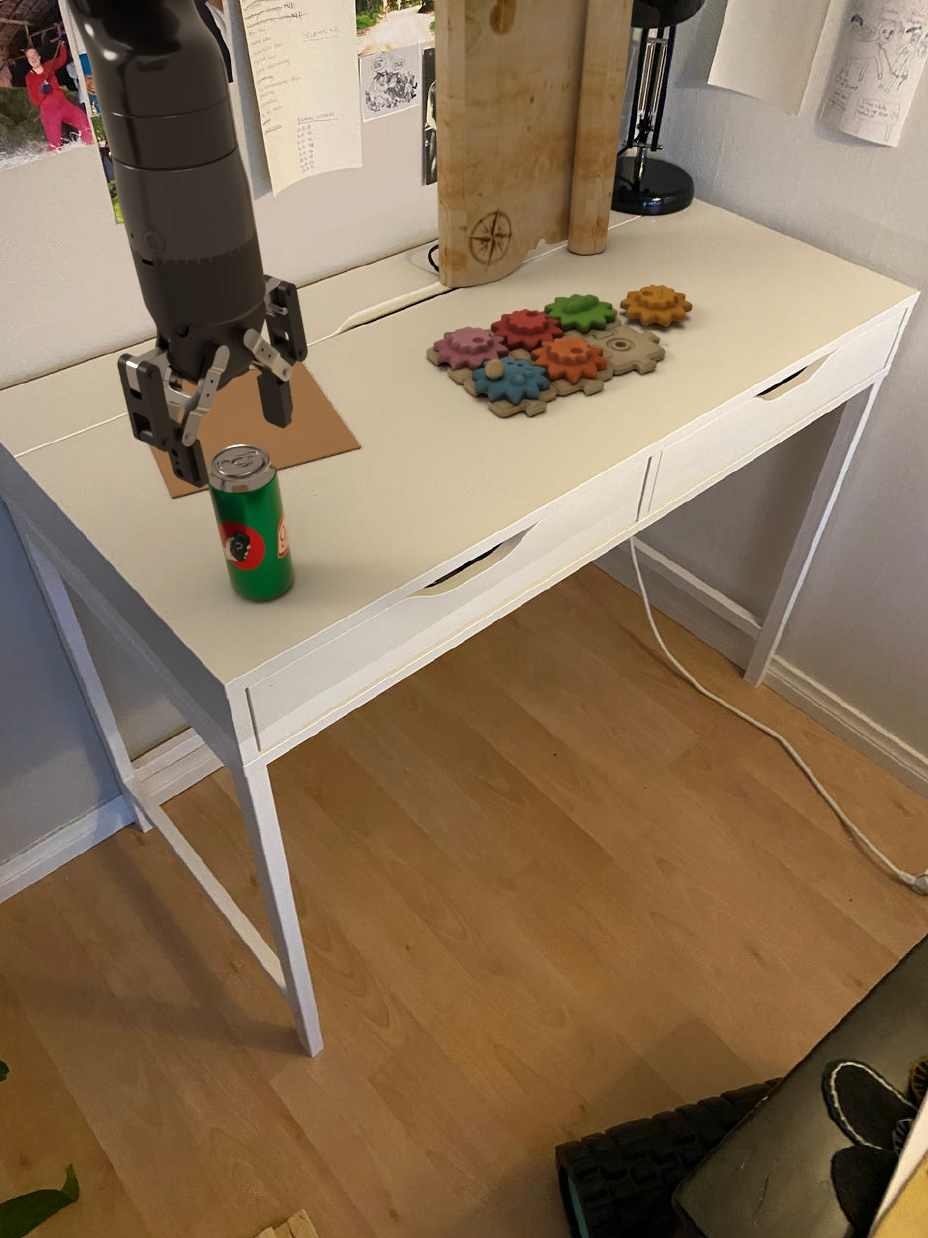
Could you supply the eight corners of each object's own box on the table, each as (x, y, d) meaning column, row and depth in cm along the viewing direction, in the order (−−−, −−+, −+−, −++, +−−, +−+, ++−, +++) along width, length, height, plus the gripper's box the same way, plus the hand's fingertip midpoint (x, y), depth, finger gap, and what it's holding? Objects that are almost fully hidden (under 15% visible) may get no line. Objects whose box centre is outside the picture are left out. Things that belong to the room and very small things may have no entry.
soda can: (301, 594, 76) (282, 472, 68) (239, 610, 75) (211, 488, 66) (286, 555, 80) (265, 434, 71) (226, 570, 78) (197, 449, 70)
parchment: (449, 292, 113) (447, -5, 91) (427, 270, 117) (420, -19, 95) (616, 253, 120) (650, -30, 99) (590, 234, 124) (617, -42, 103)
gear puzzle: (641, 283, 114) (645, 250, 112) (737, 340, 105) (745, 305, 102) (419, 356, 102) (418, 320, 99) (505, 427, 93) (507, 391, 90)
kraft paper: (172, 498, 85) (171, 497, 85) (120, 379, 99) (120, 377, 99) (360, 447, 90) (360, 446, 90) (286, 341, 104) (286, 340, 104)
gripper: (229, 174, 62) (266, 390, 74) (53, 255, 54) (126, 484, 66) (317, 200, 59) (342, 421, 71) (145, 290, 51) (204, 523, 63)
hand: (238, 451), depth 68 cm, fingers open, 8 cm apart
